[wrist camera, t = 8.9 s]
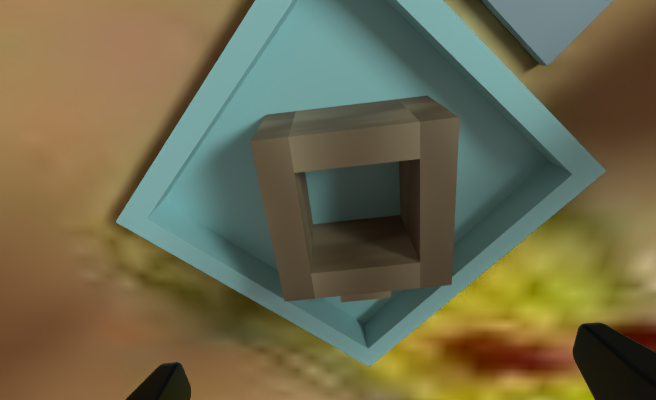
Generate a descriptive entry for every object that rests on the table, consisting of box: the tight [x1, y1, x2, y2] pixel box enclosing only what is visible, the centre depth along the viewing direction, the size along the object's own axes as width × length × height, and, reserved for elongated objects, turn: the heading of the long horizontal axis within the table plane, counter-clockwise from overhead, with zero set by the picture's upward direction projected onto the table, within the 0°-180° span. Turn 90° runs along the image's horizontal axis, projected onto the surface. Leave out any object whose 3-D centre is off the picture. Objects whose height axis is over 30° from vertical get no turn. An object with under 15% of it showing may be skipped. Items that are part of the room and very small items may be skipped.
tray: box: [116, 0, 606, 367], centre depth 17 cm, size 15×15×2 cm
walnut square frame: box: [250, 96, 460, 303], centre depth 16 cm, size 7×9×4 cm
